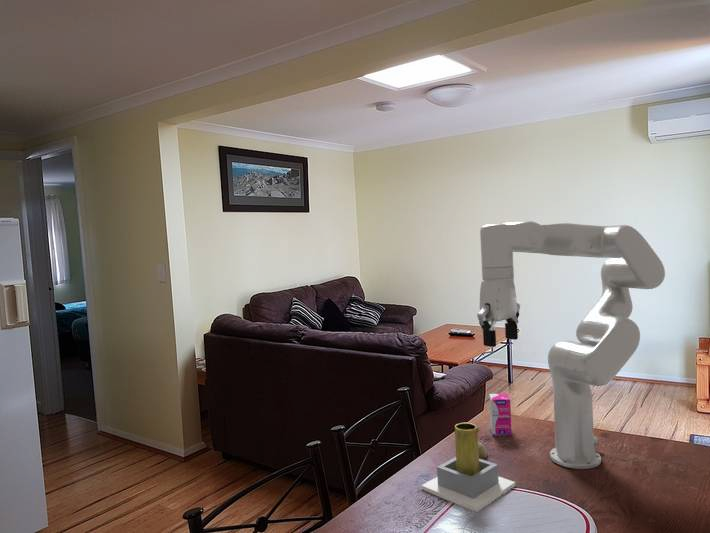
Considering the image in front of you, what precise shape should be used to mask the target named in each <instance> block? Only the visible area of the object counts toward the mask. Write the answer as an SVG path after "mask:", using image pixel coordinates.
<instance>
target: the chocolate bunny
mask: <svg viewBox="0 0 710 533" xmlns="http://www.w3.org/2000/svg"><path fill="white" fill-rule="evenodd" d="M472 424H474V423H472ZM479 431H480V427H479V426H477V434H478V433H479ZM478 453H479V459H482V460H485V459H486V458H487V457H488V450H487V449H486V447H485V446H484V444H483V443H481V442H480V441H478Z"/></svg>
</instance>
